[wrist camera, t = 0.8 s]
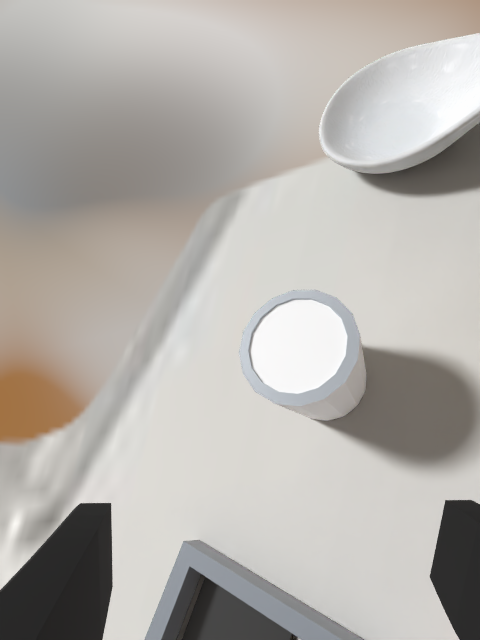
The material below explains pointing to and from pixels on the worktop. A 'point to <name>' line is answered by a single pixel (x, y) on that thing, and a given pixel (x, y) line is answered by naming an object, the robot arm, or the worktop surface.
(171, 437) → the worktop surface
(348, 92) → the spoon rest
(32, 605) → the robot arm
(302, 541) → the worktop surface
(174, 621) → the grey shallow rectangular tray
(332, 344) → the white cylinder
